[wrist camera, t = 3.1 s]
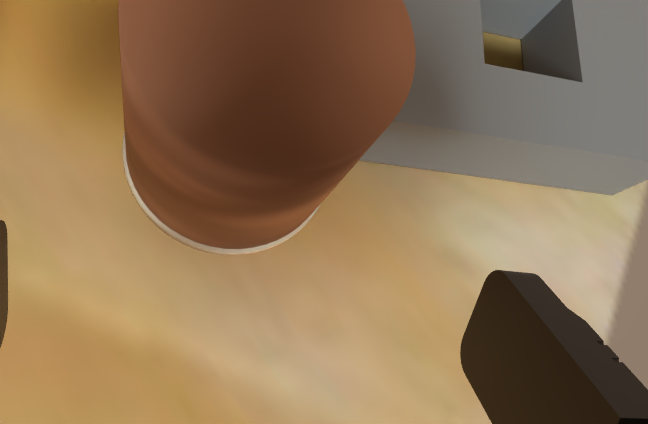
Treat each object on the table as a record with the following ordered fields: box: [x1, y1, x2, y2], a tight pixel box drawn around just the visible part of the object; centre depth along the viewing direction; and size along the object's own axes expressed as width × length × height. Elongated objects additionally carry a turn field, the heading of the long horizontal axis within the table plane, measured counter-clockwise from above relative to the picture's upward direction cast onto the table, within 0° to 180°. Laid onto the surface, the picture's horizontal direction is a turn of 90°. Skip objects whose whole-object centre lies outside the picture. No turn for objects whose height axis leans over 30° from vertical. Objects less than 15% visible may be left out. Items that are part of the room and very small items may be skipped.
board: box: [359, 0, 648, 195], centre depth 25 cm, size 12×10×4 cm
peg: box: [118, 0, 416, 255], centre depth 17 cm, size 6×6×10 cm
